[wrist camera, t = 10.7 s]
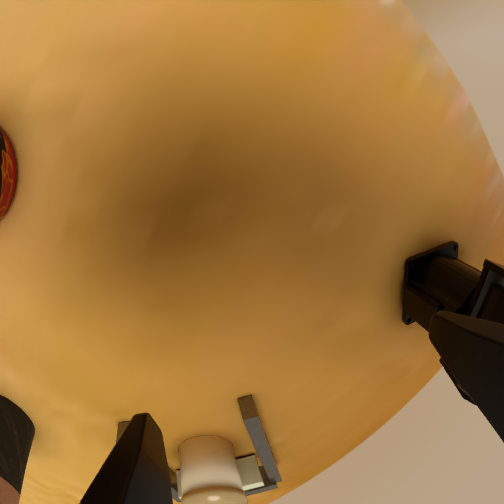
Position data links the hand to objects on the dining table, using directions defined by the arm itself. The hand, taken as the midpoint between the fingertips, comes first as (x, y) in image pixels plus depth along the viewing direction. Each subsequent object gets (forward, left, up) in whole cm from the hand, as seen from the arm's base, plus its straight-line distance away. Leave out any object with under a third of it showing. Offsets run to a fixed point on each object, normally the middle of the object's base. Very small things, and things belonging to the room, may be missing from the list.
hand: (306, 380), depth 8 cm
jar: (+8, +20, -12) cm, 24 cm away
